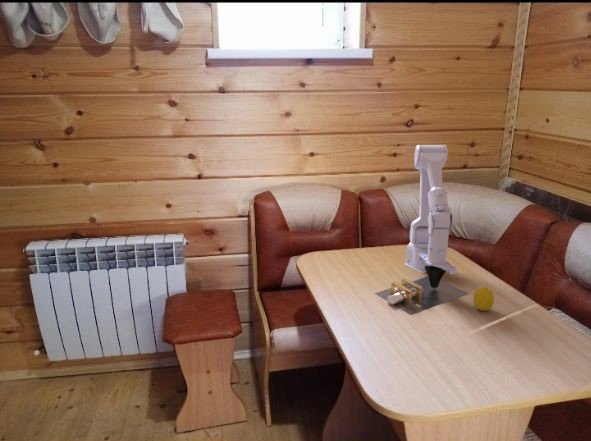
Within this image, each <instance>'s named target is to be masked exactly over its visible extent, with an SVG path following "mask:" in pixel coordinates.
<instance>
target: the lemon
mask: <svg viewBox="0 0 591 441" xmlns="http://www.w3.org/2000/svg"><path fill="white" fill-rule="evenodd" d="M494 296H495V295H494V292H493V291H492V290H491V289H490V288H489V287H487V286H482V287H479V288H478V289H476V290H475V292H474V295H473V305H474V307H475V308H476V309H478V310H480V311H482V312H484V311H485V312H486V311H488V310H490V309H492V307H493V305H494V302H495V299H494V298H495V297H494Z"/></svg>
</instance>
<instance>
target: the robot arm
mask: <svg viewBox="0 0 591 441" xmlns="http://www.w3.org/2000/svg"><path fill="white" fill-rule="evenodd" d="M448 151H449V150H448V147H447V145H446V144H427V145H426V144H422V145H421V144H417V145H416V146H415V149H414V158H413V159H414V160H413V161H414V169H416V170H418V171H419V176H420V177H419V209H418V212H419V213H418V217H417V218H416V219H414V220H413V221H411V223H410V228H409V241H410V242H409V243H408V245H407V247H406V253H405V254H406V257H405V263H404V265H405V266H408V267H410V268H411V269H413V270H415V271H417V272H419V273H422V274H425V273H426V274H427V277H429V281H430V286H431V287H432V288H436V287H438V285H439V283H440V280H442V278H443V276H444V275H445V274H446V272H447V273H449V275H451V276H452V275H456V274H457V270H458V267H456V266H454V265H453V264H451V263H450V262H449V261H448V260H447V254H448V245H449V244H448V243H449V235H450V230H451V229H452V227H453V223H454V222H453V212H452V210H451V207H450V206H449V202H448V201H449V200H448V194H447V191H446V189H444V188H443V168H444V167H445V165H446V163H447V161H448V156H449V152H448Z"/></svg>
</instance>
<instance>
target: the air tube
mask: <svg viewBox="0 0 591 441" xmlns="http://www.w3.org/2000/svg"><path fill="white" fill-rule="evenodd" d="M421 287H422V286H421ZM410 290H412V298H414V297H415V293H416V289H415V288H411V289H410ZM405 293H406V292H404V291H402V292H399V293H396V294H393V295H390V296H388V297H387V304H388V306H389V305H390V306H394V305H393V304H396V303H399V302H402V301H405ZM422 294H424V288H423V290H422Z"/></svg>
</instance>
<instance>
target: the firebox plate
mask: <svg viewBox="0 0 591 441" xmlns="http://www.w3.org/2000/svg"><path fill="white" fill-rule="evenodd" d="M390 286H391V287H390V288H387V289H384V290H381V291H378V292H375V293H374V294H375V295H377V296H378V297H380V298H381V299H383V300H384V301H387V297H388V296H390V295H393V294H396V293H399V292H402V291H404V292H406V293H405V301H402V302H399V303H396V304H393V305H392V306H395V307H396V308H398V309H399V310H401V311H403V312H405V313H406V314H408V315H409V316H412V315H415V314H418V313H421V312H422V311H425V310H428V309H431V308H434V307H437V306H439V305H441V304H445V303H447V302H450V301H453V300H455V299H458V298H461V297H464V296H466V295H469V294H470V293H469V292H467V291H465V290H462V289H461V288H458V287H456V286H455V285H452V284H450V283H448V282H446V281H444V280H442V279H441V280H440V283H439V285H438V287H436V288H432V287H431V286H430V281H429V277H428V276H425V277H422V278H419V279H416V280H413V281H411V280H410V279H408V278H405V277H404V278H401V283H399V282H397V281H395V280H394V281H392V282H391V285H390ZM421 286H422V287H421ZM411 288H415V289H416V293H415V297H414V298H412V290H410V289H411ZM423 288H424V294H422V290H423Z"/></svg>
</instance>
